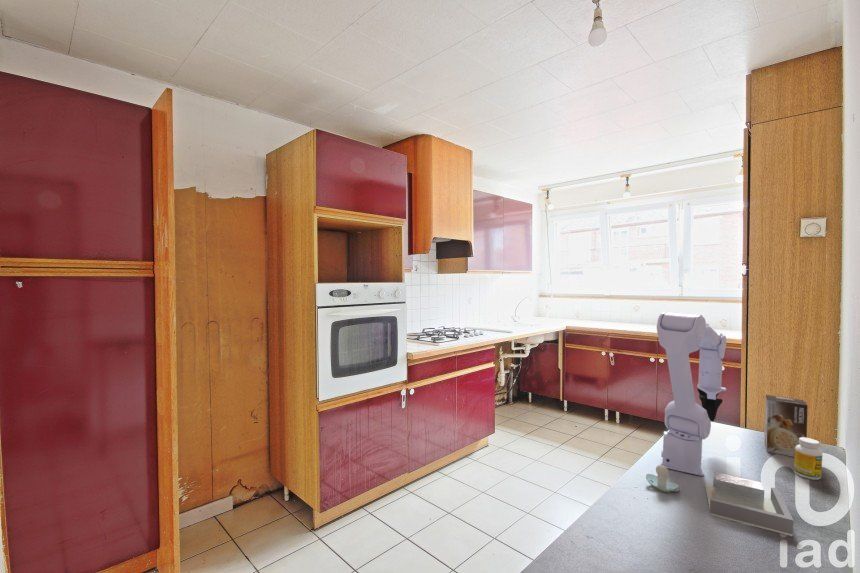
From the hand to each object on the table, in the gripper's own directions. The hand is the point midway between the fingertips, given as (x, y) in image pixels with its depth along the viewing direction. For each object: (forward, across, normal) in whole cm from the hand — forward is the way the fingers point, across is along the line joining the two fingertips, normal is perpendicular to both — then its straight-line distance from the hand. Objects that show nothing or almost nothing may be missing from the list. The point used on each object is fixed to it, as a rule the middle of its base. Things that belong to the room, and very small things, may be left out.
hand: (708, 416), depth 123 cm
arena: (+10, -32, -5) cm, 34 cm away
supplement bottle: (+11, -4, -22) cm, 25 cm away
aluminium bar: (+10, -30, -4) cm, 32 cm away
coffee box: (+11, +11, -20) cm, 25 cm away
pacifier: (+11, -32, +11) cm, 35 cm away
